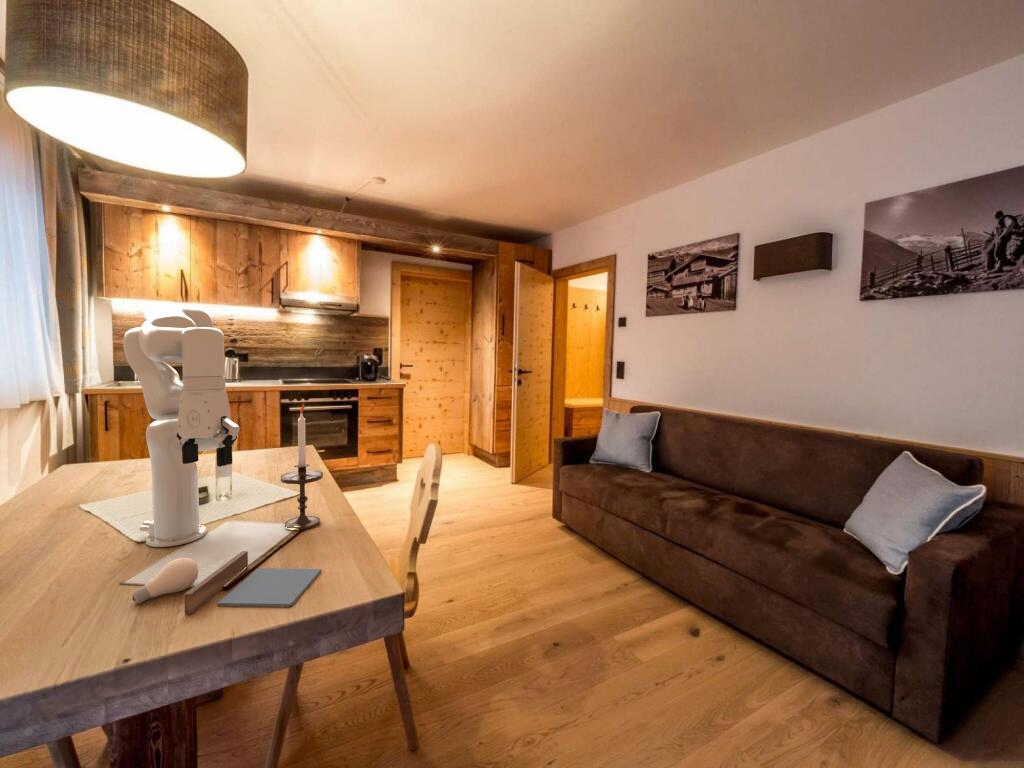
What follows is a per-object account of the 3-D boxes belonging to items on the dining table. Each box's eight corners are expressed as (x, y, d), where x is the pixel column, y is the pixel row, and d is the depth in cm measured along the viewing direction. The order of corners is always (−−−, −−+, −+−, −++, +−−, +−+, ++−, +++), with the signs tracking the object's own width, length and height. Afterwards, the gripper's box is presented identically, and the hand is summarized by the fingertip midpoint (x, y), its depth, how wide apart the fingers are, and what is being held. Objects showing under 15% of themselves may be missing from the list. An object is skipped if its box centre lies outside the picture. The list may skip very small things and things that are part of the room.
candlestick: (312, 515, 133) (311, 399, 131) (330, 524, 127) (329, 402, 124) (274, 525, 125) (272, 402, 123) (291, 535, 118) (290, 405, 116)
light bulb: (127, 587, 82) (194, 552, 90) (123, 581, 87) (187, 549, 95) (142, 618, 83) (207, 581, 91) (137, 610, 88) (200, 576, 95)
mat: (217, 606, 85) (217, 603, 85) (258, 570, 99) (258, 568, 99) (290, 606, 85) (290, 603, 85) (321, 571, 99) (321, 568, 99)
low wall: (184, 614, 82) (184, 594, 82) (242, 568, 100) (242, 551, 100) (191, 615, 82) (190, 594, 82) (248, 568, 100) (247, 551, 100)
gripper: (157, 385, 94) (160, 465, 95) (219, 386, 89) (222, 470, 90) (191, 384, 101) (194, 458, 102) (251, 384, 96) (253, 462, 97)
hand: (207, 463), depth 96 cm, fingers open, 9 cm apart
